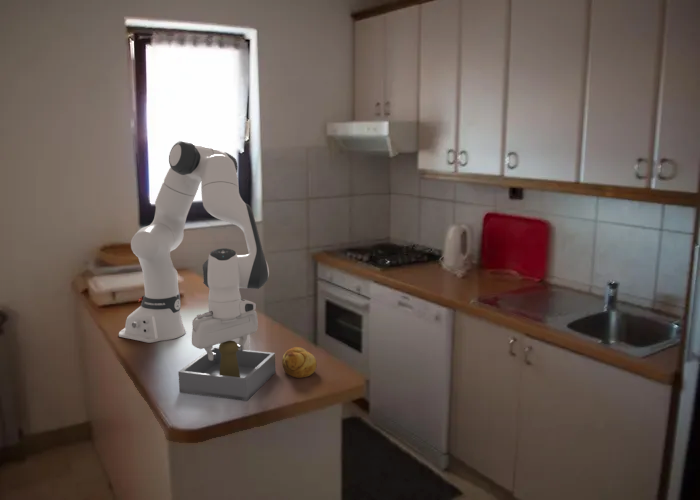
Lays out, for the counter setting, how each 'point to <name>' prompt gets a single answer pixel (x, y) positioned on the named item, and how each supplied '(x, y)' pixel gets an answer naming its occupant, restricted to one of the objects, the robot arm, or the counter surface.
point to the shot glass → (247, 343)
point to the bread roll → (299, 362)
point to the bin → (208, 382)
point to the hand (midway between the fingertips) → (226, 355)
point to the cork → (229, 359)
